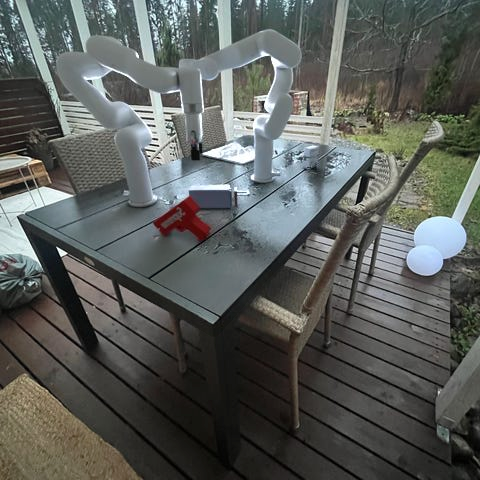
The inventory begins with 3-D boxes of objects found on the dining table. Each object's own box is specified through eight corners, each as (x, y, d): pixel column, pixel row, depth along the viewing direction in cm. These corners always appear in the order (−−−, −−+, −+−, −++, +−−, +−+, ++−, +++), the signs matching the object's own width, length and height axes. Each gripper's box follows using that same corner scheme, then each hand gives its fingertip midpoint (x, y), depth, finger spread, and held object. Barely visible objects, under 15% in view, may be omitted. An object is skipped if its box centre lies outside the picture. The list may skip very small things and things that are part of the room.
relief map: (243, 164, 168) (243, 156, 165) (202, 155, 186) (201, 147, 183) (266, 154, 186) (267, 146, 183) (227, 147, 204) (226, 140, 201)
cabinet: (230, 203, 121) (229, 184, 116) (230, 209, 116) (229, 189, 111) (192, 204, 121) (190, 185, 116) (190, 209, 116) (188, 190, 111)
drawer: (249, 202, 120) (249, 186, 116) (249, 206, 116) (250, 190, 112) (201, 202, 120) (200, 187, 116) (200, 207, 116) (199, 191, 112)
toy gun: (217, 229, 94) (190, 194, 90) (212, 235, 91) (184, 199, 87) (184, 248, 104) (159, 217, 100) (179, 254, 101) (152, 223, 97)
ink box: (309, 164, 167) (312, 144, 161) (316, 166, 164) (319, 146, 158) (301, 167, 162) (304, 147, 156) (308, 169, 159) (311, 148, 153)
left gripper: (186, 105, 104) (191, 150, 114) (178, 112, 90) (184, 163, 99) (205, 105, 104) (208, 150, 114) (200, 111, 90) (204, 163, 99)
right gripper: (197, 96, 106) (201, 141, 115) (202, 92, 120) (205, 133, 130) (178, 96, 106) (183, 141, 115) (185, 92, 120) (189, 133, 130)
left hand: (197, 156), depth 106 cm, fingers open, 9 cm apart
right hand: (195, 137), depth 122 cm, fingers open, 9 cm apart
